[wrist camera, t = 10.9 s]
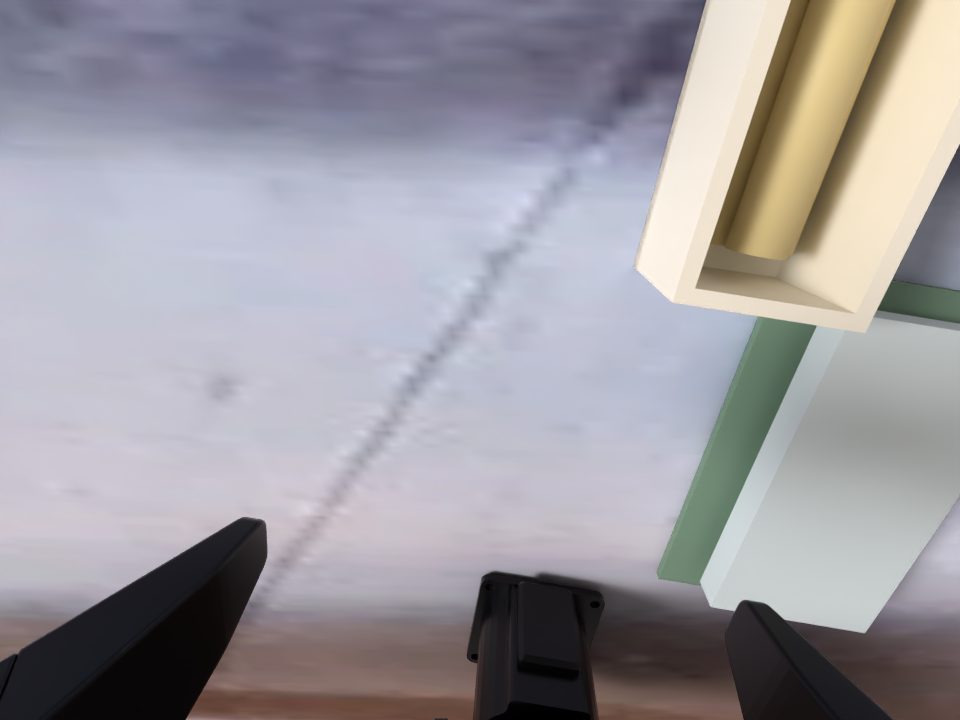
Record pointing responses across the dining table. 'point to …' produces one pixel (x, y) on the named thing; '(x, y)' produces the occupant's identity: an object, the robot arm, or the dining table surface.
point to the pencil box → (803, 156)
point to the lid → (847, 476)
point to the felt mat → (762, 423)
